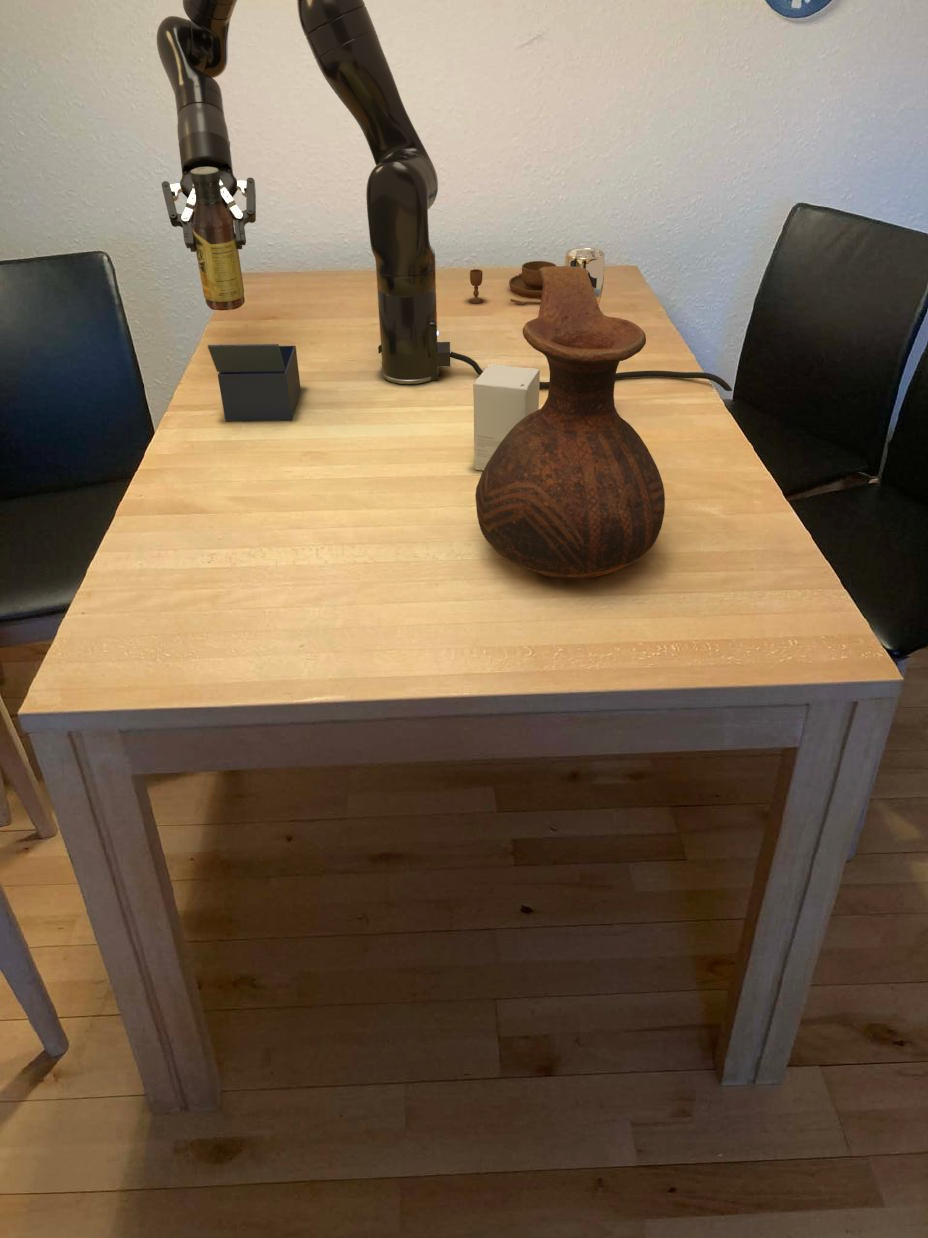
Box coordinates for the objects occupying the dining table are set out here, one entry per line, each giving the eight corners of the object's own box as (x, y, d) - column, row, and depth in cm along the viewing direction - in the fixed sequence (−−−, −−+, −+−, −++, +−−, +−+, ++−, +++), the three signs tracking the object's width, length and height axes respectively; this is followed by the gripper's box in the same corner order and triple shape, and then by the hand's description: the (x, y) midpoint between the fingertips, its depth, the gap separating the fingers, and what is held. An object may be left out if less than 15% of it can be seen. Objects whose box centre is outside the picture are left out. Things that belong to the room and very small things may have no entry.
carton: (300, 389, 150) (295, 345, 146) (291, 420, 141) (286, 374, 137) (238, 390, 150) (231, 346, 146) (225, 421, 141) (217, 375, 136)
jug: (687, 535, 114) (727, 286, 96) (611, 626, 99) (641, 352, 81) (531, 489, 123) (541, 255, 105) (441, 566, 109) (434, 309, 91)
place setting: (571, 304, 183) (572, 273, 179) (468, 304, 183) (468, 274, 179) (564, 277, 197) (566, 248, 193) (469, 277, 197) (469, 248, 193)
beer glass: (597, 347, 164) (604, 259, 155) (557, 344, 165) (562, 257, 156) (600, 333, 170) (607, 248, 161) (562, 331, 171) (567, 246, 162)
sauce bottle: (208, 299, 149) (185, 164, 137) (248, 298, 150) (228, 163, 137) (202, 313, 144) (178, 174, 132) (243, 312, 144) (223, 173, 132)
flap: (278, 343, 131) (278, 345, 131) (285, 369, 136) (285, 371, 136) (207, 344, 131) (207, 346, 131) (217, 370, 136) (217, 372, 136)
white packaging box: (538, 454, 131) (542, 368, 124) (524, 478, 126) (527, 389, 118) (488, 447, 133) (489, 361, 126) (472, 470, 128) (471, 382, 120)
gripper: (150, 130, 137) (162, 236, 135) (250, 127, 139) (263, 231, 137) (160, 162, 144) (171, 263, 142) (254, 158, 147) (266, 258, 145)
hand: (216, 247), depth 140 cm, fingers closed on sauce bottle, 6 cm apart
